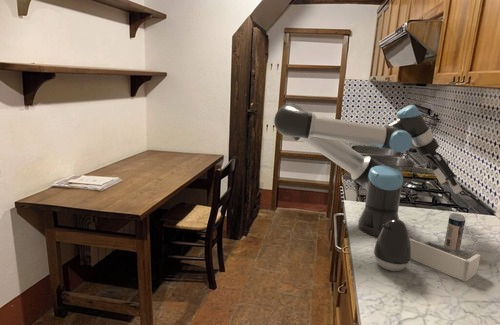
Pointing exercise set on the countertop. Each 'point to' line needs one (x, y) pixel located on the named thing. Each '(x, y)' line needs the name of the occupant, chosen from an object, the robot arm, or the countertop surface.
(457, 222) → the beer can
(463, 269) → the walled box
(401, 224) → the black glossy domed part
